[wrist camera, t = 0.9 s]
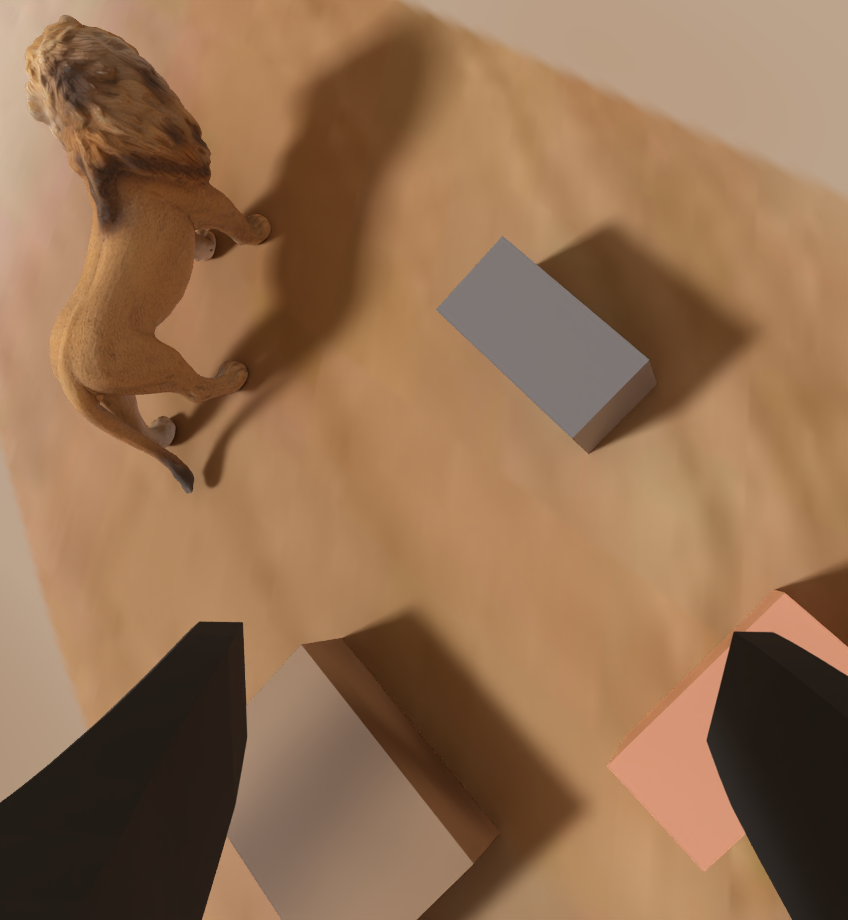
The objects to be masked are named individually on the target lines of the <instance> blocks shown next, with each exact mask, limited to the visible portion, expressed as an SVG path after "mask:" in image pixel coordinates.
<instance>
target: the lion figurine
mask: <svg viewBox="0 0 848 920" xmlns="http://www.w3.org/2000/svg"><path fill="white" fill-rule="evenodd" d="M25 59H26V61H27V65H26V69H25V71H26V74H27V76H28V78H29V82H28V83H27V85H26V86H25V93H26V97H27V100H28V110H29V113H30V115H31V116H32V117H34V119H36V120H37V121H40V122H43V123H45V124H47V125H48V127H49V128H50V129H51V131H52V133H53V135H54V136H55V137H56V138H57V139H58V141H59V142H60V145H61V147H62V148H63V149H64V150H65V151H66V152H67V161H68V163H69V166H70V167H71V168H72V169H73V170H74V171H75V172H76V173H78V174H79V175H80V177H81V178H83V179H84V181H85V184H86V187H87V191H88V193H89V196H90V199H91V203H92V206H93V217H92V229H91V236H90V241H89V247H88V252H87V256H86V261H85V265H84V269H83V272H82V274H81V277H80V280H79V283H78V285H77V287H76V289H75V291H74V293H73V295H72V296H71V298H70V299H69V301H68V302H67V304H66V305H65V306H64V308H63V309H62V311H61V312H60V313H59V315H58V317H57V319H56V321H55V323H54V326H53V329H52V332H51V336H50V342H49V348H50V362H51V366H52V370H53V372H54V374H55V376H56V377H57V378H58V379H59V381H60V384H61V386H62V388H63V390H64V392H65V394H66V396H67V397H68V399H69V401H70V402H71V403H72V404H73V406H74V407H75V408H76V409H77V410H78V411H79V412H80V413H81V414H82V415H83V416H84V417H85V418H86V419H87V420H89V421H90V422H91V423H92V424H94V425H95V426H96V427H98V428H99V429H101V430H103V431H104V432H106V433H108V434H109V435H111V436H113V437H115V438H116V439H119V440H121V441H123V442H125V443H127V444H129V445H131V446H133V447H135V448H137V449H139V450H141V451H143V452H145V453H147V454H149V455H151V456H153V457H154V458H156V459H157V460H158V461H160V462H161V463H162V464H163V465H165V466H166V467H167V468H169V470H170V471H171V472H172V474H173V476H174V477H175V479H177V480H178V481H179V482H180V483H181V485H182V488H183V489H184V491H185V492H186V493H192V491H193V483H194V476H193V473H192V472H191V471H190V469H189V468H188V467H187V466H186V465H185V464H184V463H183V462H182V461H181V460H180V459H179V458H178V457H177V456H176V455H174V454H173V453H171V452H169V451H168V450H166V449H165V448H166V447H167V446H169V445H170V444H171V442H172V440H173V438H174V435H175V429H176V428H175V424H174V423H173V422H172V421H171V420H170V419H169V418H168V417H165V416H161V417H159V418H158V419H157V420H154V421H153V422H152V424H151V426H150V428H149V427H148V426H147V425H146V423H145V422H144V421H143V419H142V417H141V415H140V413H139V410H138V406H137V401H136V397H135V395H140V394H152V393H162V392H173V393H177V394H180V395H181V396H183V397H184V398H186V399H187V400H188V401H190V402H192V403H201V402H203V401H206V400H208V399H211V398H214V397H218V396H222V395H227V394H231V393H233V392H235V391H237V390H238V389H240V388H241V387H242V386H243V384H244V383H245V381H246V379H247V376H248V372H247V369H246V367H245V365H244V364H242V363H239V362H236V361H226V362H224V363H223V364H222V365H221V367H220V369H219V372H218V375H217V376H216V377H214V378H205V377H202V376H200V375H198V374H197V373H196V372H195V371H194V370H193V368H192V367H191V366H190V365H189V364H188V363H187V362H186V361H185V360H184V358H183V357H182V356H181V355H180V353H179V352H178V351H176V350H175V349H174V348H172V347H170V346H168V345H166V344H164V343H162V342H161V341H159V340H158V339H157V338H156V337H155V334H154V332H155V329H156V327H157V326H158V325H159V324H160V323H162V322H163V321H164V320H165V319H166V318H167V317H168V316H169V315H170V314H171V312H172V311H173V309H174V308H175V307H176V305H177V304H178V303H179V301H180V300H181V299H182V297H183V295H184V292H185V290H186V287H187V285H188V282H189V280H190V276H191V273H192V269H193V263H194V260H197V261H203V260H208V259H210V258H211V257H212V256H213V254H214V252H215V247H216V239H215V236H214V234H213V233H212V232H210V231H206V230H207V229H217V230H219V231H221V232H223V233H225V234H227V235H228V236H230V237H231V238H232V239H233V240H234V241H235V242H236V243H237V244H240V245H245V244H247V245H258V244H259V243H261V242H262V241H264V240H265V239H266V238H267V237H268V235H269V234H270V231H271V225H270V223H269V221H268V220H267V218H265V217H263V216H261V215H259V214H254V215H252V216H247V218H246V219H245V217H244V216H243V215H242V214H241V213H240V212H239V211H238V209H237V208H236V207H235V206H234V204H233V203H232V202H231V201H230V200H229V199H228V198H227V197H226V196H225V195H224V194H223V193H222V192H220V191H219V190H217V189H216V188H214V187H213V186H212V185H210V184H209V180H210V177H211V170H210V168H209V165H210V163H211V160H210V155H211V152H210V150H209V149H208V147H207V145H206V143H205V142H204V141H203V140H202V139H201V135H202V132H201V128H200V126H199V124H198V123H197V121H196V120H195V119H194V118H193V116H192V115H191V114H190V113H189V112H188V111H187V110H186V109H185V108H184V106H183V105H182V103H181V102H180V99H179V98H178V96H177V95H176V94H175V93H174V92H173V91H172V90H171V89H170V87H169V85H168V84H167V82H166V81H165V79H164V78H163V77H162V76H160V75H159V74H158V73H157V72H156V71H155V69H154V68H153V67H152V65H151V64H150V63H149V62H147V61H146V60H145V59H144V58H142V57H141V56H139V53H138V51H137V50H136V48H134V47H133V46H132V45H130V44H128V43H127V42H125V41H124V40H123V39H122V38H121V37H119V36H116V35H114V34H112V33H110V32H107V31H105V30H102V29H100V28H97V27H88V26H85V25H82V24H81V23H79V22H78V21H77V20H76V19H74V18H73V17H71V16H68V15H63V16H61V17H60V19H59V22H58V23H54V24H51V25H49V26H47V27H46V28H45V30H44V32H43V34H42V35H41V36H40V37H38V38H37V39H35V41H34V42H33V44H32V45H31V46H29V47H28V48H27V50H26V55H25ZM195 230H198V231H197V232H195ZM100 404H101V405H100Z"/></svg>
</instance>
